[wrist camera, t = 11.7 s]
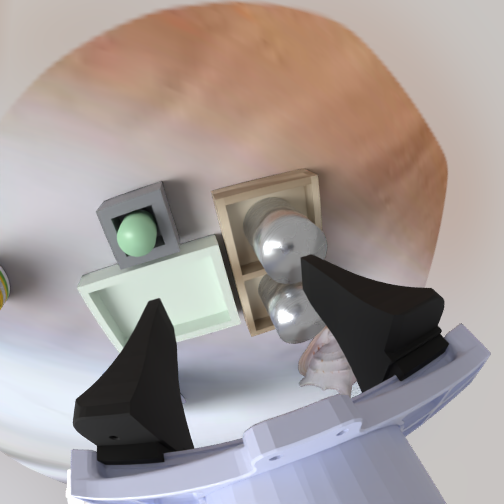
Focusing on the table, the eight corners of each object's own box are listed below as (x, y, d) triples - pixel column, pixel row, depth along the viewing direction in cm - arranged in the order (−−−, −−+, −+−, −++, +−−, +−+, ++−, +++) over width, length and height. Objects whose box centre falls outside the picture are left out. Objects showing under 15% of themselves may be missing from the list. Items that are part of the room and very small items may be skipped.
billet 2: (304, 295, 27) (329, 331, 23) (262, 310, 27) (282, 350, 22) (300, 258, 25) (329, 293, 20) (253, 274, 24) (274, 314, 20)
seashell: (286, 380, 36) (310, 432, 28) (294, 321, 31) (330, 383, 23) (345, 362, 39) (374, 406, 31) (365, 303, 33) (407, 351, 25)
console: (179, 237, 22) (180, 251, 20) (125, 254, 21) (120, 269, 19) (161, 181, 20) (159, 189, 17) (103, 201, 19) (95, 211, 17)
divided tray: (314, 297, 29) (325, 310, 27) (245, 320, 28) (251, 336, 26) (303, 168, 22) (317, 174, 20) (211, 191, 21) (215, 199, 19)
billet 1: (298, 240, 24) (327, 272, 19) (248, 255, 23) (268, 292, 19) (292, 191, 22) (325, 214, 17) (237, 205, 21) (257, 233, 16)
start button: (162, 238, 20) (161, 250, 18) (129, 248, 20) (125, 261, 18) (150, 204, 19) (148, 213, 17) (116, 216, 18) (110, 226, 16)
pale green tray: (236, 310, 27) (241, 323, 26) (122, 341, 25) (121, 355, 24) (214, 234, 23) (218, 244, 21) (82, 275, 21) (76, 288, 19)
